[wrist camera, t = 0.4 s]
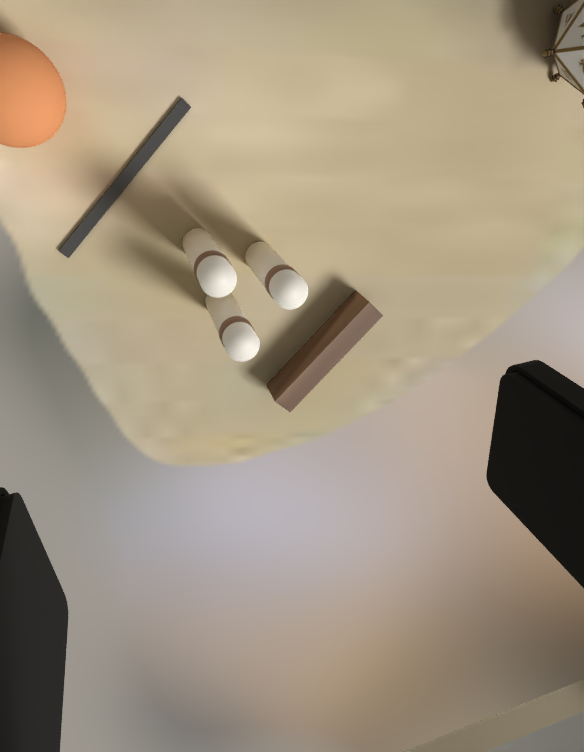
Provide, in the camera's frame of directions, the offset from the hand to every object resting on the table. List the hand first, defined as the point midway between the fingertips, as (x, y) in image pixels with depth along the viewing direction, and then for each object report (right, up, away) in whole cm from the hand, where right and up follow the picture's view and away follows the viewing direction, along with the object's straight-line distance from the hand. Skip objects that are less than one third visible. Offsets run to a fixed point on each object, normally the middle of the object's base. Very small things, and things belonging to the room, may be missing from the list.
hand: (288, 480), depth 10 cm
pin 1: (-6, +8, +35) cm, 36 cm away
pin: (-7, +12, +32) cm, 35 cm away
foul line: (-12, +16, +28) cm, 35 cm away
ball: (-16, +19, +21) cm, 33 cm away
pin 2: (-3, +12, +34) cm, 36 cm away
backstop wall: (+2, +5, +39) cm, 40 cm away
